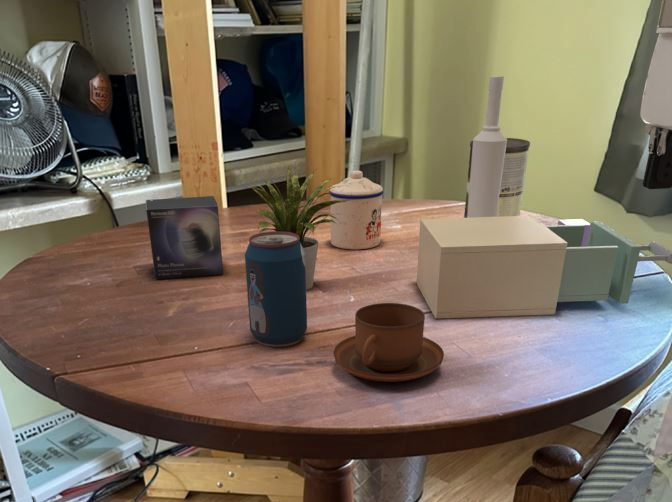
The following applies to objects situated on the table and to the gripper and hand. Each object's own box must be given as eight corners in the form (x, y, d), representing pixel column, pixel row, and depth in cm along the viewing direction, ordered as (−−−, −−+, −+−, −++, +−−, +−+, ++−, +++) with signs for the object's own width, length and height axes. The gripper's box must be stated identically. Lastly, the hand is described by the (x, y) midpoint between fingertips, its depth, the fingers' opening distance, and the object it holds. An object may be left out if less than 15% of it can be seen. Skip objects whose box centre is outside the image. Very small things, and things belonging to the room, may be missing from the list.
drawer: (637, 271, 102) (650, 219, 98) (682, 301, 91) (698, 244, 87) (490, 276, 102) (496, 224, 98) (517, 307, 90) (525, 250, 86)
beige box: (521, 280, 103) (531, 215, 98) (555, 314, 91) (567, 242, 86) (416, 283, 102) (420, 219, 97) (435, 318, 90) (441, 246, 85)
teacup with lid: (376, 251, 117) (378, 177, 111) (323, 249, 119) (322, 175, 113) (388, 234, 127) (391, 164, 120) (339, 231, 129) (340, 163, 122)
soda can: (313, 329, 88) (310, 231, 81) (299, 351, 82) (296, 246, 76) (260, 326, 89) (253, 229, 83) (243, 346, 83) (235, 244, 77)
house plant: (292, 312, 93) (287, 181, 84) (223, 291, 101) (212, 169, 92) (360, 286, 102) (362, 164, 93) (291, 268, 110) (287, 155, 101)
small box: (154, 281, 106) (144, 208, 100) (154, 268, 111) (144, 199, 106) (224, 275, 108) (218, 203, 102) (220, 263, 113) (214, 194, 107)
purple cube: (577, 243, 119) (582, 218, 117) (586, 249, 115) (591, 224, 113) (554, 244, 119) (558, 219, 117) (562, 250, 115) (566, 225, 113)
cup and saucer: (441, 395, 72) (446, 338, 68) (325, 388, 74) (325, 332, 70) (443, 349, 82) (448, 297, 78) (341, 344, 83) (341, 294, 80)
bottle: (500, 247, 118) (522, 76, 104) (478, 252, 115) (497, 78, 102) (478, 241, 121) (496, 74, 108) (456, 246, 119) (471, 76, 105)
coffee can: (451, 224, 131) (458, 142, 124) (484, 215, 137) (492, 136, 129) (497, 234, 125) (507, 147, 117) (530, 223, 131) (541, 140, 123)
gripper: (765, 15, 74) (716, 198, 84) (693, 16, 86) (658, 175, 96) (695, 17, 74) (655, 201, 84) (633, 18, 86) (604, 178, 96)
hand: (656, 187), depth 90 cm, fingers closed
